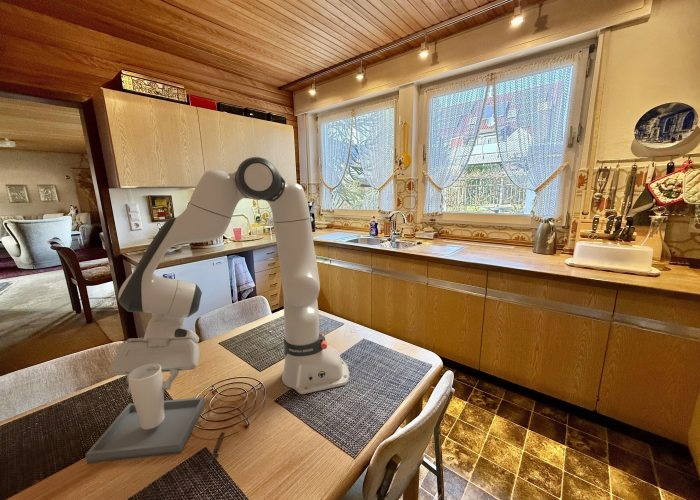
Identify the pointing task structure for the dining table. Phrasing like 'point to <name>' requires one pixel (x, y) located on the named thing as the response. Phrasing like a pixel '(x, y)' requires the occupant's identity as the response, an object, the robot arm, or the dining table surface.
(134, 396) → the drinking glass
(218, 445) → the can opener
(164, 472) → the dining table surface
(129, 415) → the tray
